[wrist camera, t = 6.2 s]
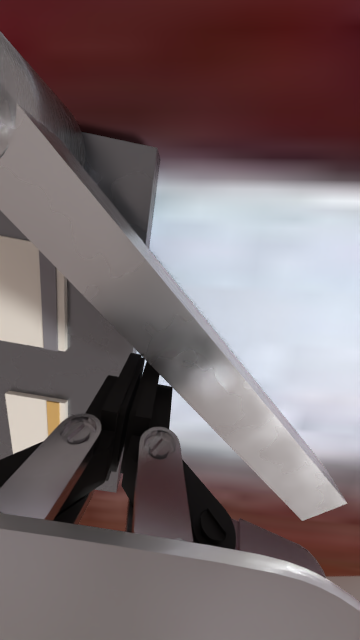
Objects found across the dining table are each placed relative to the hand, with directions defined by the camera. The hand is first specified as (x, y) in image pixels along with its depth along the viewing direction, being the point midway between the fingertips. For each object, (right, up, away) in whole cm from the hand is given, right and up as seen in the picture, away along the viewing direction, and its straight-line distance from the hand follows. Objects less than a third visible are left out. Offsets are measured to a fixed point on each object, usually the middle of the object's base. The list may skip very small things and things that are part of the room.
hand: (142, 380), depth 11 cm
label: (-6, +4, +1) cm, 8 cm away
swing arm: (+2, +3, +1) cm, 4 cm away
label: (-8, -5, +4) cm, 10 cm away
